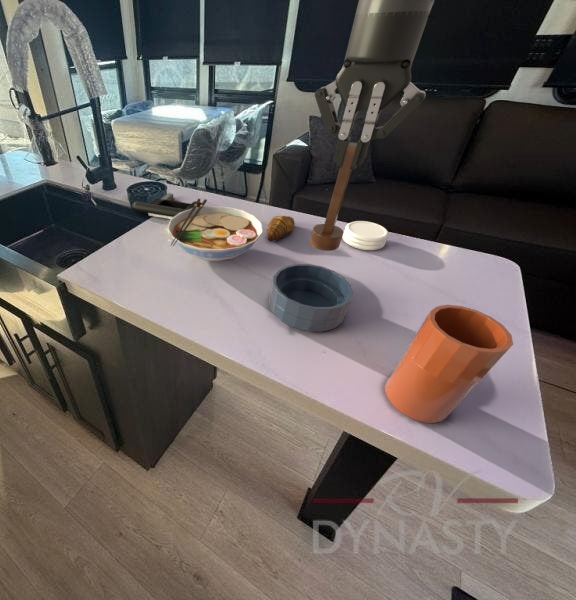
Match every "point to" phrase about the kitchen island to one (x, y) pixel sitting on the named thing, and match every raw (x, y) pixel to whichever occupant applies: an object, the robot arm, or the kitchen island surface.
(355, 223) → the coaster
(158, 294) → the kitchen island surface
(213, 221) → the ramen bowl
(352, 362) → the kitchen island surface
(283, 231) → the croissant
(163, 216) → the door handle
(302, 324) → the bowl
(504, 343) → the crock
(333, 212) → the brown wooden masher
